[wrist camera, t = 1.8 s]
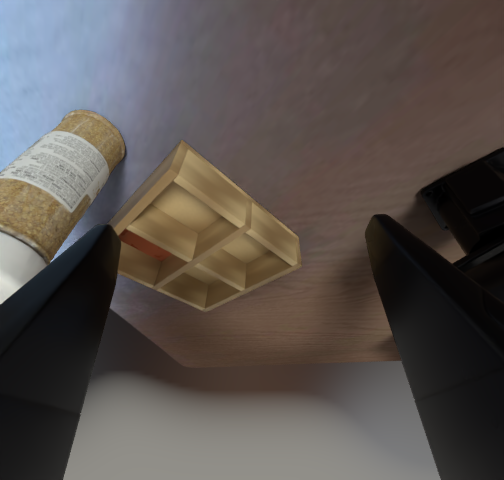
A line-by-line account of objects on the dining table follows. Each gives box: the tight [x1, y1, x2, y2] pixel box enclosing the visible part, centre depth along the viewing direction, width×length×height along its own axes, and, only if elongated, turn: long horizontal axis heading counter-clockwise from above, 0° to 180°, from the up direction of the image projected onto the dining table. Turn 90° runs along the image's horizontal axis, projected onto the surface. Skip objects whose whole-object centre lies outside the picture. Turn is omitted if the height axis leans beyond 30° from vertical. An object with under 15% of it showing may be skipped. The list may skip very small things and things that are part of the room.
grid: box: [107, 140, 302, 312], centre depth 27 cm, size 15×15×4 cm
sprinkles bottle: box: [0, 110, 125, 304], centre depth 16 cm, size 5×5×13 cm
